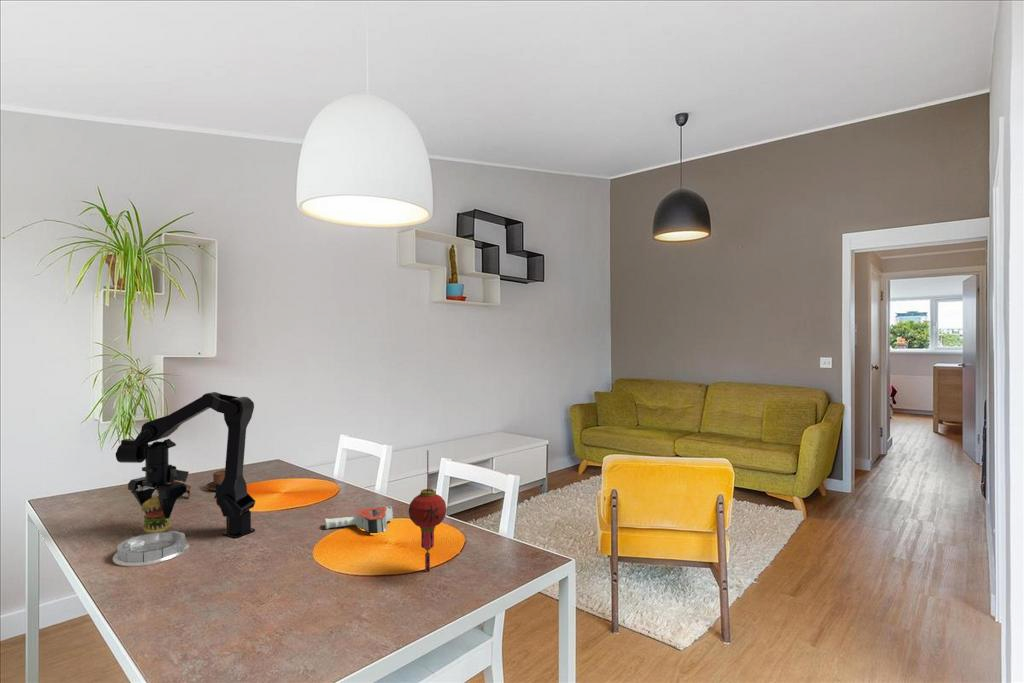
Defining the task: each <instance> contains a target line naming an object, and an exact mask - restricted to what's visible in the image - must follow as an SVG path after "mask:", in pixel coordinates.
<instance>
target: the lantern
mask: <svg viewBox="0 0 1024 683" xmlns="http://www.w3.org/2000/svg"><path fill="white" fill-rule="evenodd" d="M426 456H427V458H426V459H427V460H426V461H427V462H426V463H427V465H426V466H427V467H426V468H427V469H426V470H427V472H426V473H427V474H426V476H427V478H426V479H427V480H426V488H425V489H424V488H423V489H422V490H420V493H419V494H418V495H416V496H414V497H413V499H412V500H411V502H409V507H408V515H409V519H410V520H411V521H412V523H413V524H414V525H415V526H416V527H419V529H420V531H421V536H420V542H421V548H422V549H424V550H425V551H426V552H425V554H424V556H425V558H424V566H425V567H424V568H425V569H424V572H426V571H427V572H426V573H429V572H431V553H430V552H429V551H430V550H431V549H432V548H433V547H435V528H436V526H438V525H441V523H442V522H443V521H444V519H445V518H446V516H447V511H448V510H447V504H446V501H445V500H444V498H443V497H442V496H440V495H439V494H437V493H436V490H435V489H432V488H429V450H427V452H426Z"/></svg>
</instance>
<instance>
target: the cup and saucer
mask: <svg viewBox="0 0 1024 683" xmlns="http://www.w3.org/2000/svg"><path fill="white" fill-rule="evenodd" d="M224 477H225V469H221V470H217V471H214V472H213V473H212V478H213V481H212V482H208V483H207V484H206V485H205V487H206V488H207V489H208V490H210V491H215V492H216V488H215V487H216V484H218V483H220V482H222V481H223V479H224Z"/></svg>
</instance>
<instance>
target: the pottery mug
mask: <svg viewBox="0 0 1024 683" xmlns="http://www.w3.org/2000/svg"><path fill="white" fill-rule="evenodd" d="M174 482H179V483H182V481H177V480H174ZM174 482H172V483H174ZM183 483H184V484H185V485H187V492H186V493H187V494H188V496H187V499H190V497H191V493H192V492H191V488H192V485H190V484H187V483H186V482H183ZM168 484H170V483H168ZM157 497H160V495H159V494H157Z"/></svg>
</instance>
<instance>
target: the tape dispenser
mask: <svg viewBox="0 0 1024 683" xmlns="http://www.w3.org/2000/svg"><path fill="white" fill-rule="evenodd" d="M370 511H372V514H371V513H370ZM393 515H394V514H393V507H392V505H390V506H379V507H378V506H377V507H373V508H372V507H370V508H364V509H358V510H357V511H356V514H355V515H354V516H344V517H335V518H325V519H324V522H325V524H324V525H325V529H326V530H328V529H331V528H340V527H347V526H352V525H353V526H354V525H355V526H356V527H359V528H361V529H364V530H365V531H367V533H368V534H369V533H380V532H383V533H384V531H385V530H387V531H388V524H387V523H388V521H393V518H394V516H393Z"/></svg>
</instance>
